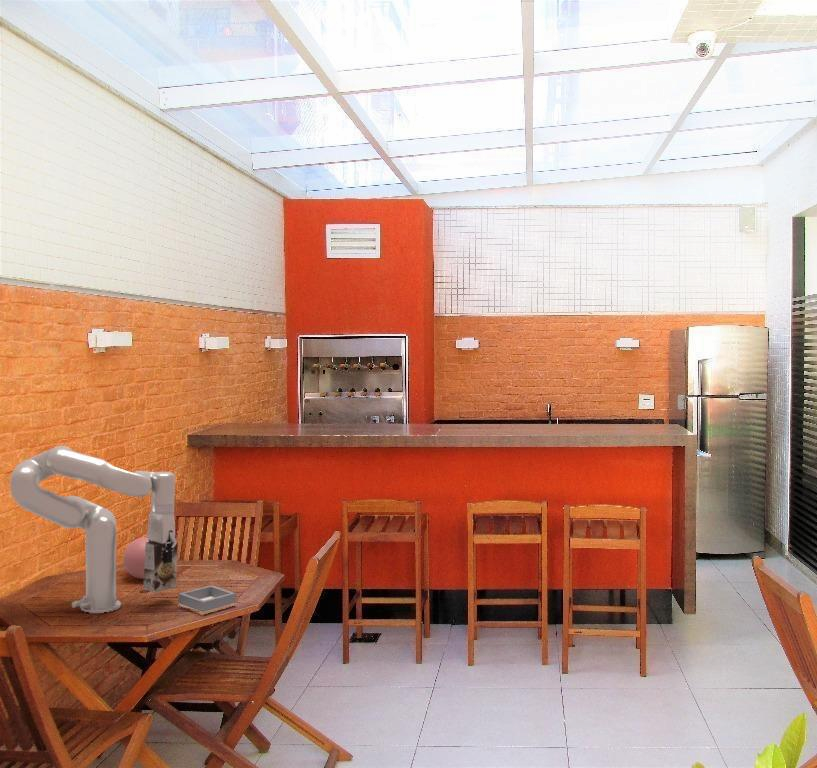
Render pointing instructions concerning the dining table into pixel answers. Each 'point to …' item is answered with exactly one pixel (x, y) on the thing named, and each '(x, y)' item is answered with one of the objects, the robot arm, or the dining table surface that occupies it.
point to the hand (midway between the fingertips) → (161, 560)
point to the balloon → (135, 557)
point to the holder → (206, 598)
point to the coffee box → (159, 568)
